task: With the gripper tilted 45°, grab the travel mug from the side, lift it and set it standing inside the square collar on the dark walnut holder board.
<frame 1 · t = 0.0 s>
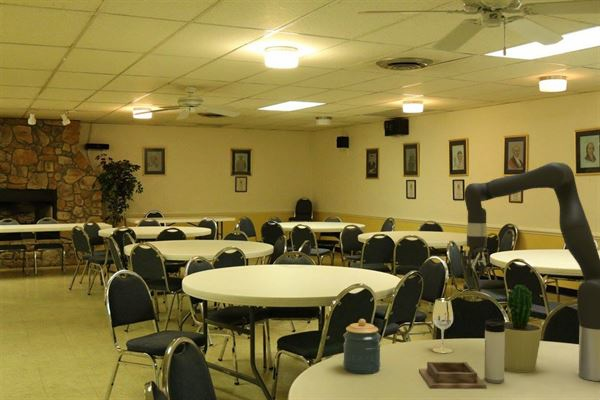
hand: (476, 276, 246), 29 cm above the table, tool pointing down, fingers open, 8 cm apart
canister: (361, 369, 222), on the table
cap holder: (451, 379, 210), on the table
travel mug: (494, 380, 210), on the table
potted cactus: (518, 368, 225), on the table
wineglass: (442, 351, 247), on the table
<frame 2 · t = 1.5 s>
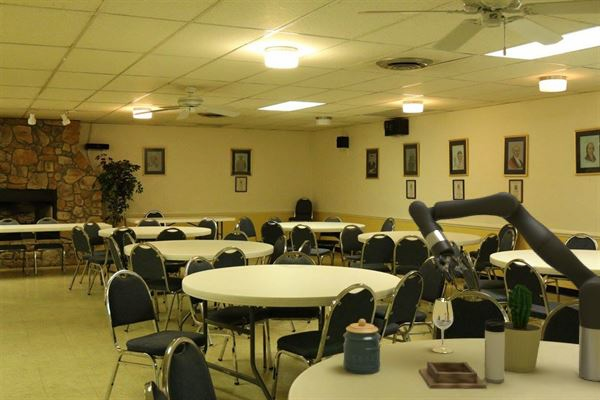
hand: (460, 281, 223), 31 cm above the table, tool tilted 45°, fingers open, 8 cm apart
nothing on the table moved.
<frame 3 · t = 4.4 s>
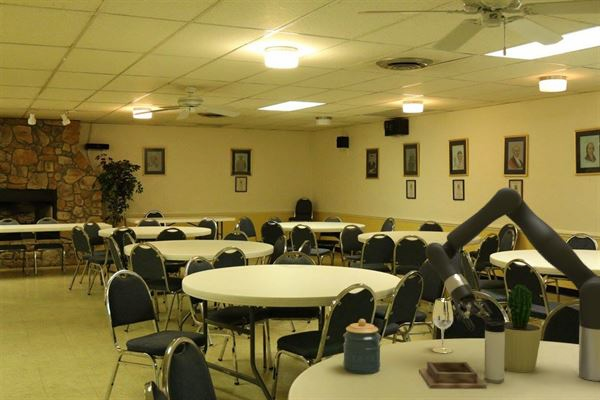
hand: (482, 328, 215), 16 cm above the table, tool tilted 45°, fingers open, 8 cm apart
nothing on the table moved.
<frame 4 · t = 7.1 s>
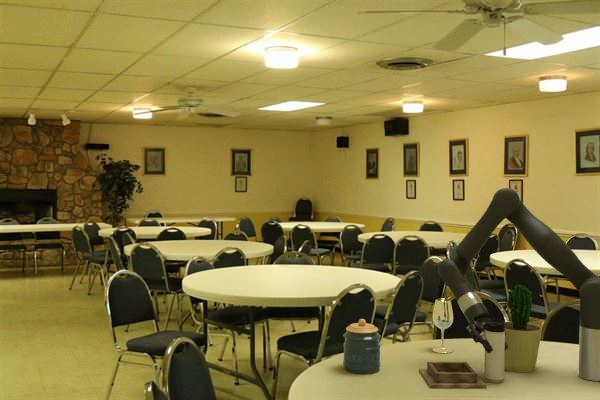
hand: (498, 350, 208), 10 cm above the table, tool tilted 45°, fingers closed on travel mug, 6 cm apart
travel mug: (494, 380, 210), on the table, touching gripper
everything else where it was.
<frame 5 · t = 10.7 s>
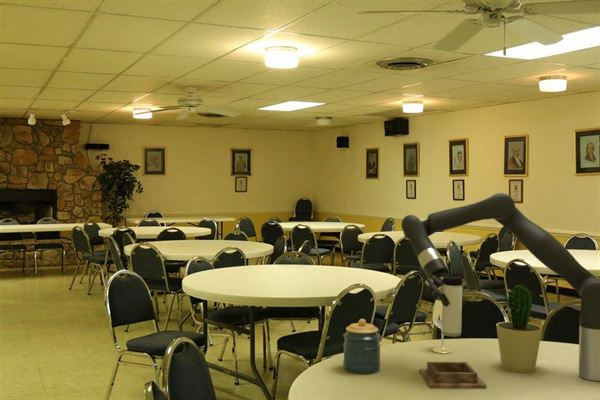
hand: (455, 304, 208), 25 cm above the table, tool tilted 45°, fingers closed on travel mug, 6 cm apart
travel mug: (451, 334, 210), point 15 cm above the table, touching gripper
everything else where it was.
when the fingers open (13 cm above the table, at t = 14.7 s): travel mug drops 1 cm, resting on cap holder.
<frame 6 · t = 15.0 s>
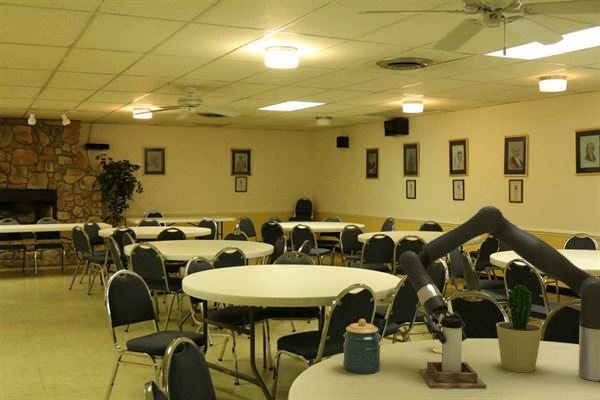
hand: (454, 341, 209), 13 cm above the table, tool tilted 45°, fingers open, 8 cm apart
travel mug: (451, 376, 211), point 1 cm above the table, touching cap holder
everything else where it was.
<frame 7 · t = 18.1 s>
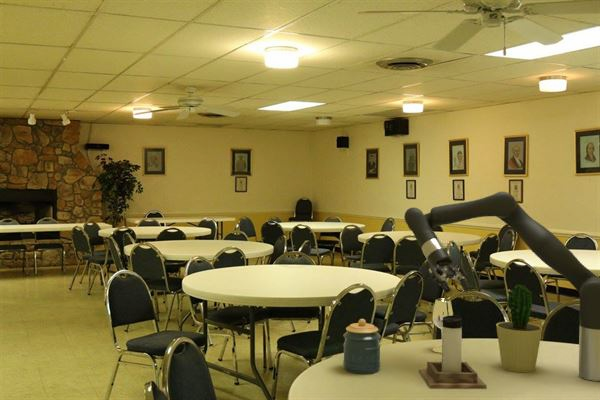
hand: (458, 291, 216), 28 cm above the table, tool tilted 45°, fingers open, 8 cm apart
nothing on the table moved.
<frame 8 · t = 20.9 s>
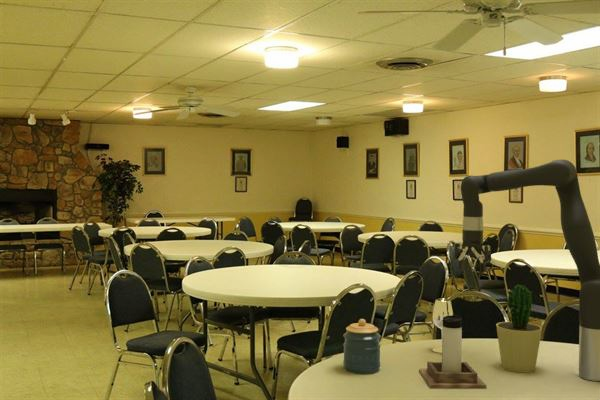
hand: (472, 271, 238), 32 cm above the table, tool pointing down, fingers open, 8 cm apart
nothing on the table moved.
at the end: travel mug 0.4 cm off-centre on the cap holder, point 0.8 cm above the cap holder's base; travel mug tilted 0°; the gripper is holding nothing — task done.
